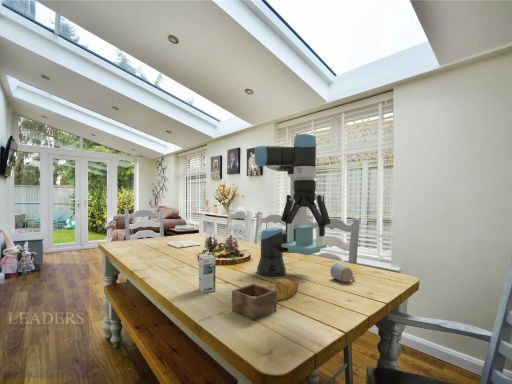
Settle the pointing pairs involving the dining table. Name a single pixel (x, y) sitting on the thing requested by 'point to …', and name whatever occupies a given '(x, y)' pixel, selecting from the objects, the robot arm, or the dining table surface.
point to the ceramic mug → (341, 272)
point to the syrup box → (207, 273)
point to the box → (254, 301)
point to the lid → (303, 242)
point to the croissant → (284, 288)
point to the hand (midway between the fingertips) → (304, 243)
